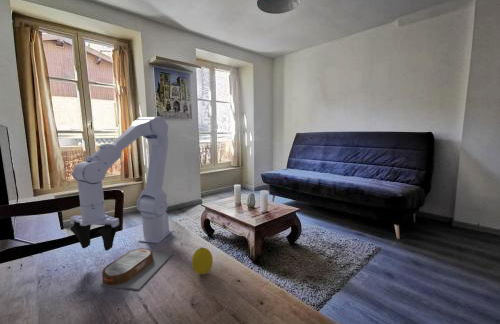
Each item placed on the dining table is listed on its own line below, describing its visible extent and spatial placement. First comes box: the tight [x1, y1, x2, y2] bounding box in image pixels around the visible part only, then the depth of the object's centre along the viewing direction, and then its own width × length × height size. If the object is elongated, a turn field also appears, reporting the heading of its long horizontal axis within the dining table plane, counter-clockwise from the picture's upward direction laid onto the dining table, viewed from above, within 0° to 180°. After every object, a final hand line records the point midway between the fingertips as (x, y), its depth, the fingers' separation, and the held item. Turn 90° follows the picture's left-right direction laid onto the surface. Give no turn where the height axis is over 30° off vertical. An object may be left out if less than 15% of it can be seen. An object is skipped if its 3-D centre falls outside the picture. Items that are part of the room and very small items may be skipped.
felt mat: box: [100, 251, 173, 291], centre depth 70 cm, size 17×11×1 cm, turn 170°
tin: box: [101, 247, 153, 286], centre depth 69 cm, size 15×3×8 cm
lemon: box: [191, 246, 214, 276], centre depth 66 cm, size 6×6×8 cm
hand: (97, 247), depth 71 cm, fingers open, 7 cm apart
